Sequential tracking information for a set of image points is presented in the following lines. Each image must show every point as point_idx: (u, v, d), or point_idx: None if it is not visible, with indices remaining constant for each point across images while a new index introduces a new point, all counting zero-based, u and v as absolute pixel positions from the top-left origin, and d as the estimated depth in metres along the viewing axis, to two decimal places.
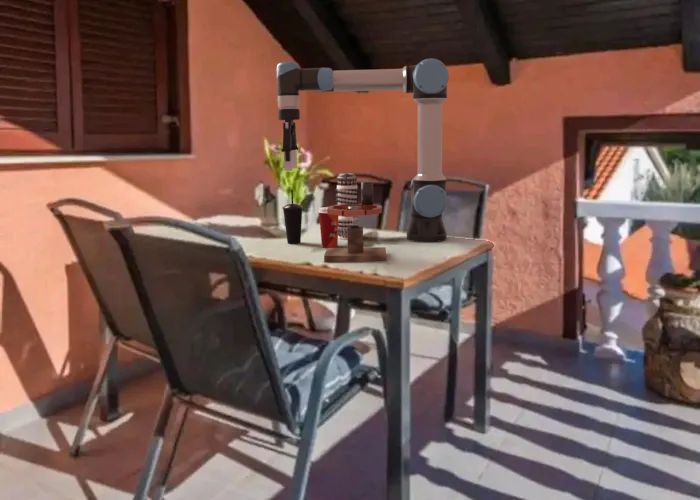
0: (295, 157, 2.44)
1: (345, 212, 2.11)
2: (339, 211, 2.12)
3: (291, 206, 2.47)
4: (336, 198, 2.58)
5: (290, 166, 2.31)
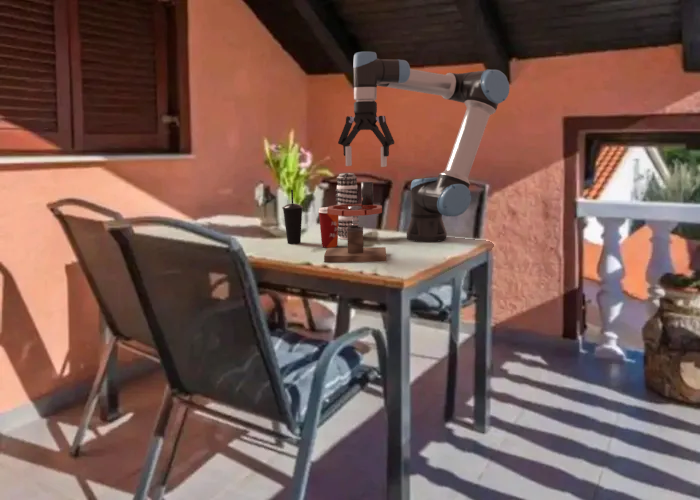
0: None
1: (345, 212, 2.11)
2: (339, 211, 2.12)
3: (291, 206, 2.47)
4: (336, 198, 2.58)
5: None
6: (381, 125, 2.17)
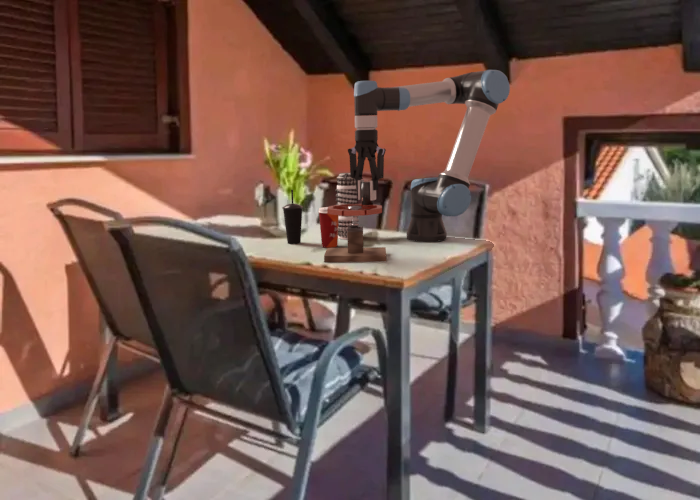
0: None
1: (345, 212, 2.11)
2: (339, 211, 2.12)
3: (291, 206, 2.47)
4: (336, 198, 2.58)
5: None
6: (378, 158, 2.19)
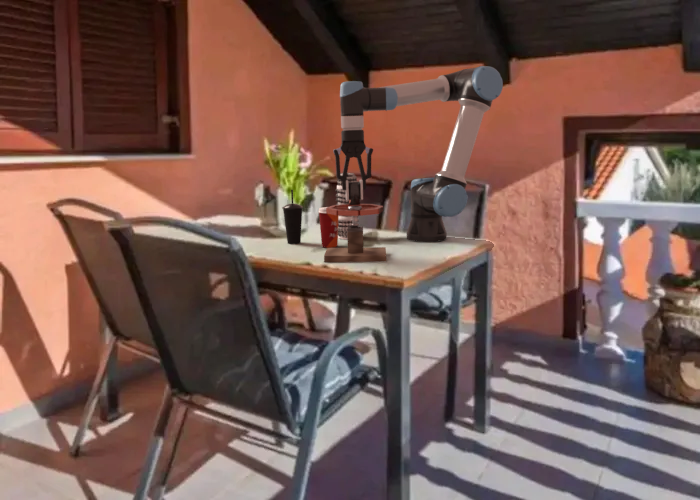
0: (360, 188, 2.25)
1: (361, 212, 2.11)
2: (354, 211, 2.11)
3: (291, 206, 2.47)
4: (336, 198, 2.58)
5: (346, 195, 2.25)
6: (369, 157, 2.24)
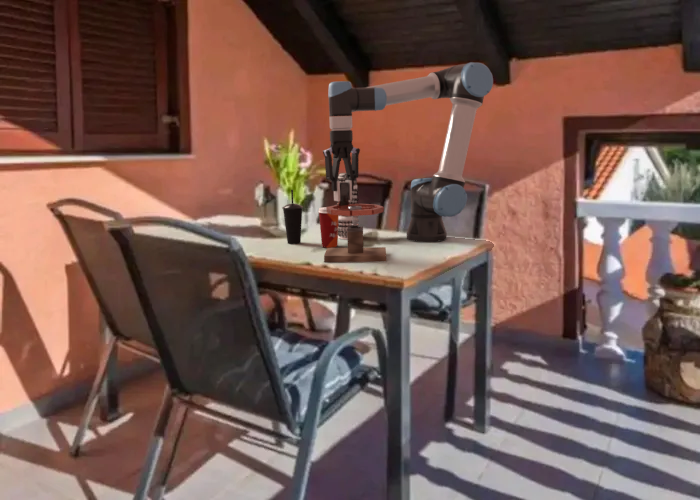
0: (349, 188, 2.25)
1: (374, 211, 2.13)
2: (368, 211, 2.12)
3: (291, 206, 2.47)
4: None
5: (337, 196, 2.23)
6: (356, 157, 2.25)
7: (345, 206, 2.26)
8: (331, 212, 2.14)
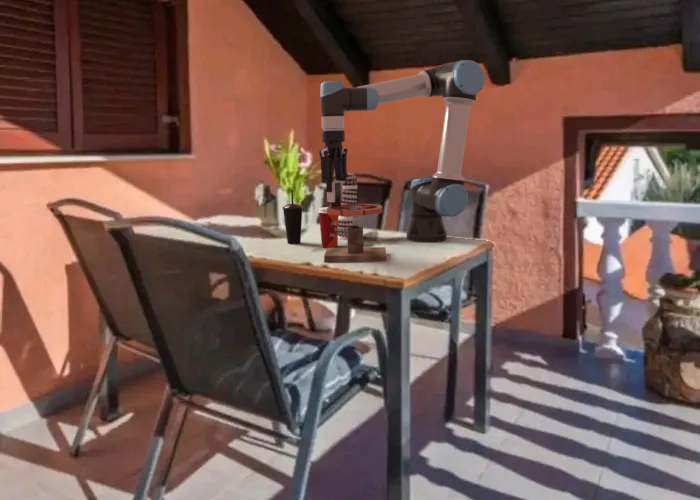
0: None
1: (381, 209, 2.16)
2: (378, 209, 2.14)
3: (291, 206, 2.47)
4: None
5: (332, 197, 2.21)
6: (345, 157, 2.25)
7: (337, 207, 2.24)
8: (340, 213, 2.12)
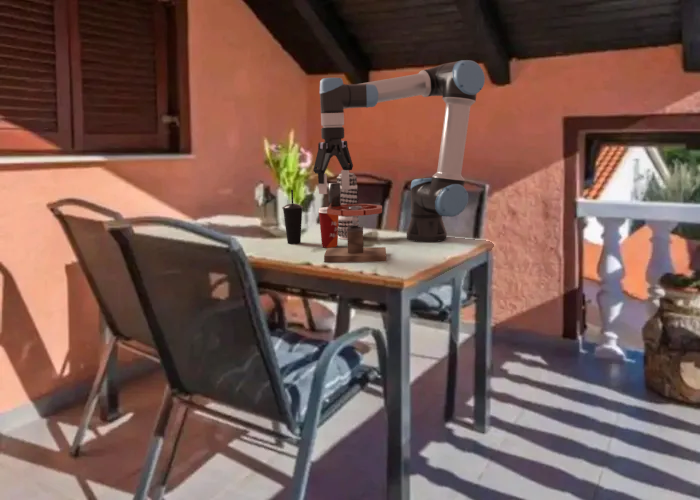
0: (347, 178, 2.27)
1: (381, 209, 2.16)
2: (378, 209, 2.14)
3: (291, 206, 2.47)
4: None
5: (324, 189, 2.16)
6: (347, 150, 2.25)
7: (337, 207, 2.24)
8: (341, 213, 2.12)
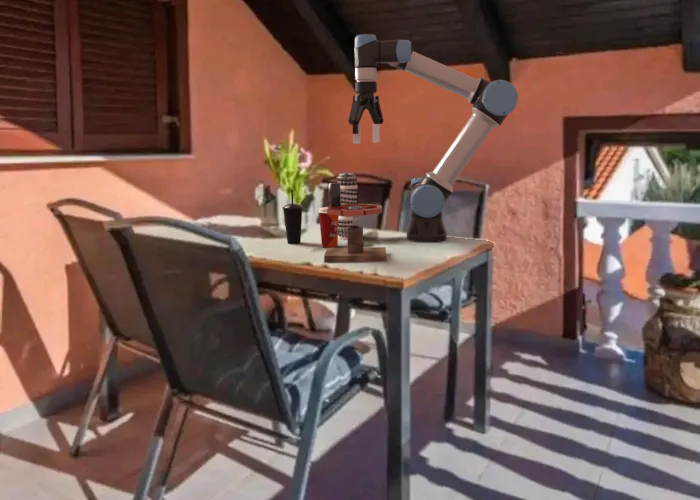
0: (378, 131, 2.41)
1: (381, 209, 2.16)
2: (378, 209, 2.14)
3: (291, 206, 2.47)
4: None
5: (358, 139, 2.30)
6: (378, 104, 2.40)
7: (337, 207, 2.24)
8: (341, 213, 2.12)
